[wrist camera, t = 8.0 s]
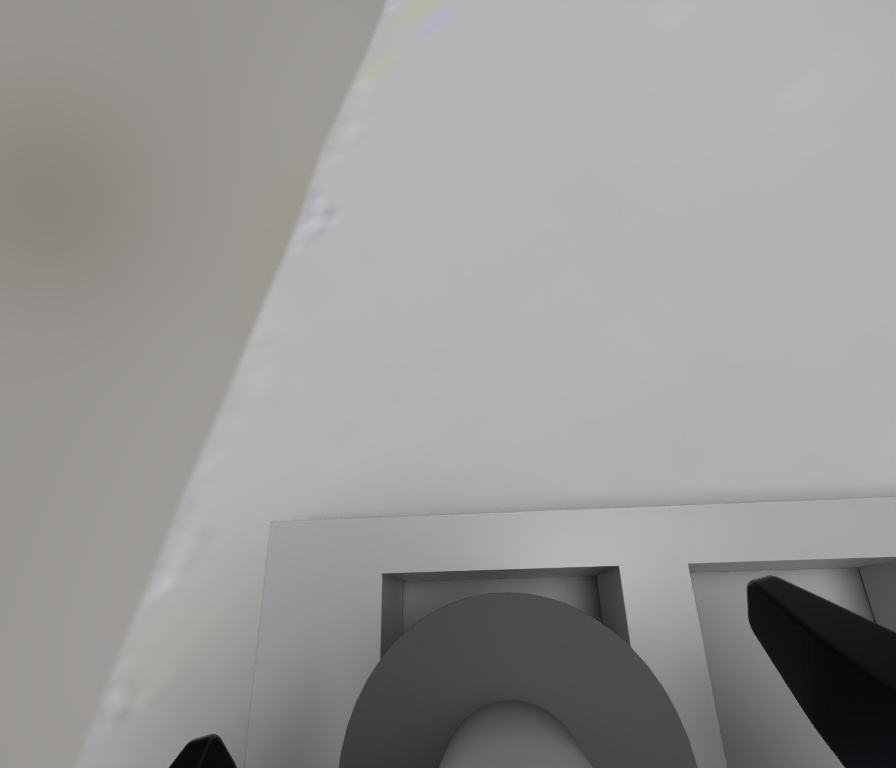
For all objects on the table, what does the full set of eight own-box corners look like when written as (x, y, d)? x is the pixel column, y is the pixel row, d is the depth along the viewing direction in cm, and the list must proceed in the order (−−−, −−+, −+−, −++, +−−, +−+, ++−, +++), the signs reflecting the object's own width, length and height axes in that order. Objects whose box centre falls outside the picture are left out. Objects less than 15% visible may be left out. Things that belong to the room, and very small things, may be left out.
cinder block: (1105, 907, 13) (1377, 1037, 9) (281, 900, 15) (197, 1010, 11) (949, 514, 17) (1092, 481, 13) (309, 538, 19) (256, 515, 14)
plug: (509, 833, 15) (580, 2155, 2) (394, 689, 16) (37, 934, 4) (619, 694, 16) (1116, 1006, 3) (502, 573, 18) (514, 453, 5)
